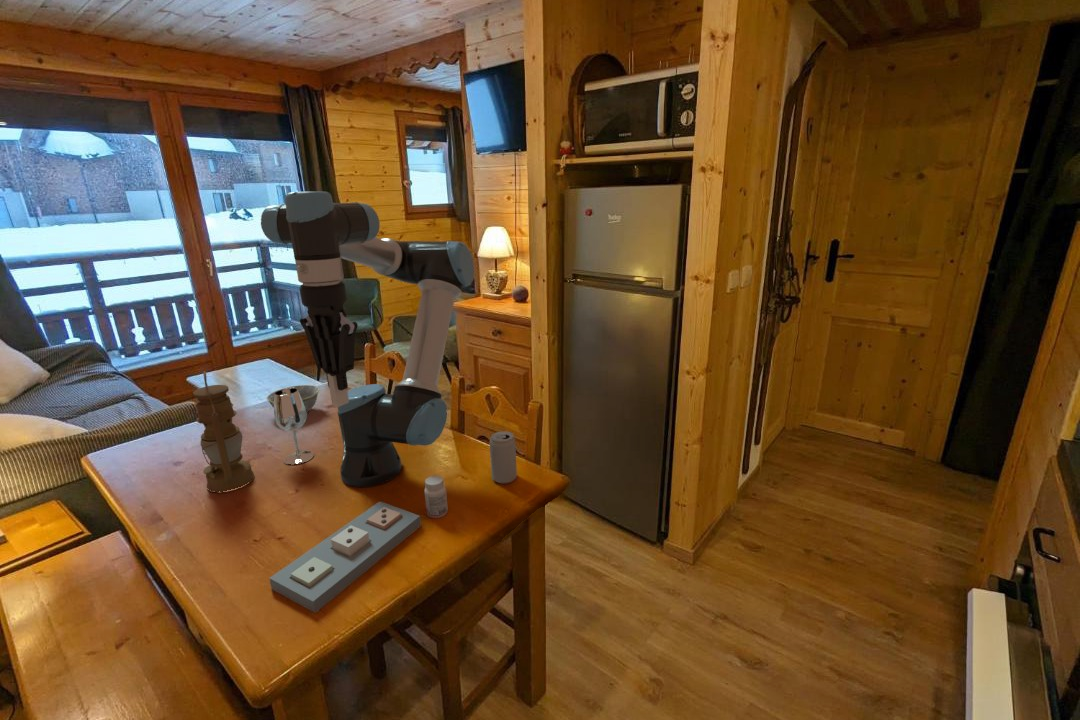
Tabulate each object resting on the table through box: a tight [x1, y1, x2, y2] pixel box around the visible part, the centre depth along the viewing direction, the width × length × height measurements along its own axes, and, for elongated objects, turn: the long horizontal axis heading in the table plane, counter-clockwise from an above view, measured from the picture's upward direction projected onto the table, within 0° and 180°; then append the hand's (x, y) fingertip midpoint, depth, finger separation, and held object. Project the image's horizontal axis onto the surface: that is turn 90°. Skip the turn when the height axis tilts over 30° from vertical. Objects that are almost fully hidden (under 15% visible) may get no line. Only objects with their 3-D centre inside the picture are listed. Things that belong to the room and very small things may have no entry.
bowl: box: [266, 384, 320, 414], centre depth 166 cm, size 16×16×8 cm
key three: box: [367, 507, 401, 531], centre depth 106 cm, size 5×5×3 cm
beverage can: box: [489, 430, 518, 485], centre depth 123 cm, size 6×6×12 cm
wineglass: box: [273, 387, 314, 466], centre depth 134 cm, size 8×8×20 cm
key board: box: [268, 501, 422, 614], centre depth 99 cm, size 27×12×2 cm, turn 151°
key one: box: [291, 557, 333, 588], centre depth 91 cm, size 5×5×3 cm
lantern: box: [192, 370, 255, 492], centre depth 122 cm, size 15×10×30 cm
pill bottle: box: [424, 474, 449, 519], centre depth 111 cm, size 5×5×8 cm
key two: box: [331, 525, 370, 557], centre depth 98 cm, size 5×5×3 cm
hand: (340, 404), depth 95 cm, fingers closed
